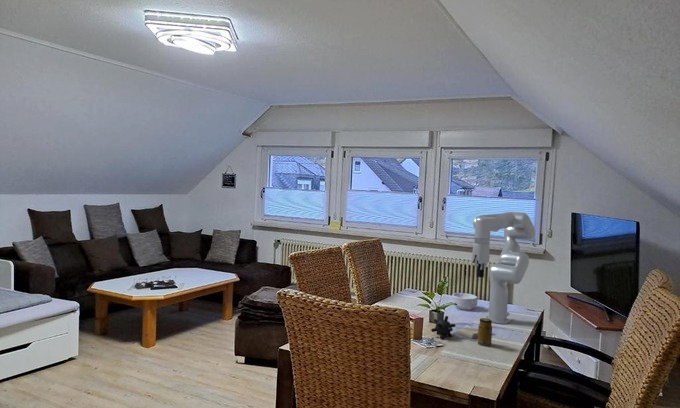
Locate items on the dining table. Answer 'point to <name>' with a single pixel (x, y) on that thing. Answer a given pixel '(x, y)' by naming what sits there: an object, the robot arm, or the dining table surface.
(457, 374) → the dining table surface
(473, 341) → the rubber mat
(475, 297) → the paper bowls
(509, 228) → the robot arm
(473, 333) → the birch tile
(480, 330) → the condiment
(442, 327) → the toy ball
